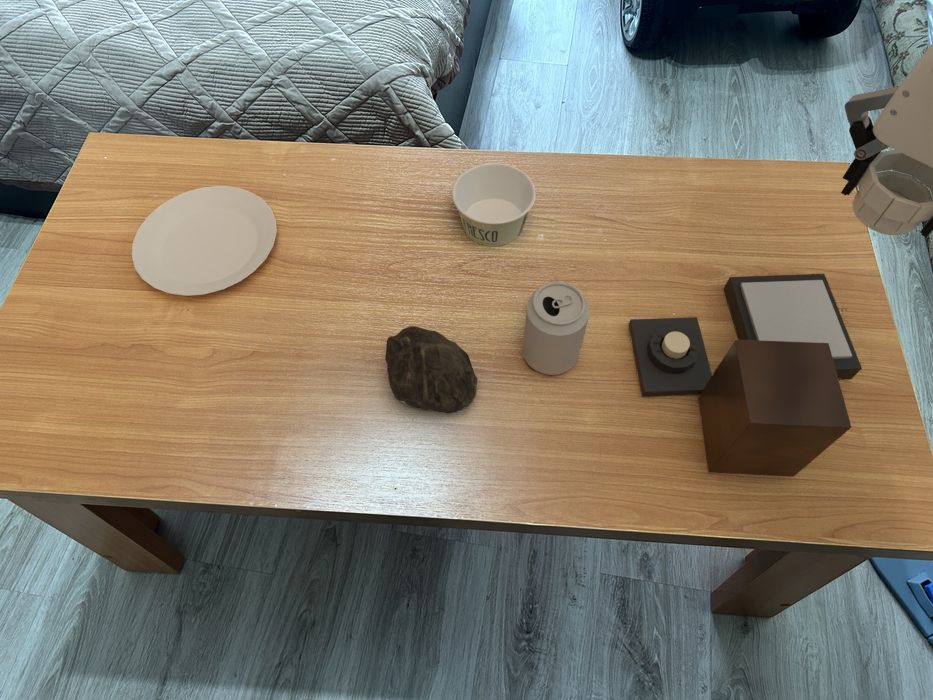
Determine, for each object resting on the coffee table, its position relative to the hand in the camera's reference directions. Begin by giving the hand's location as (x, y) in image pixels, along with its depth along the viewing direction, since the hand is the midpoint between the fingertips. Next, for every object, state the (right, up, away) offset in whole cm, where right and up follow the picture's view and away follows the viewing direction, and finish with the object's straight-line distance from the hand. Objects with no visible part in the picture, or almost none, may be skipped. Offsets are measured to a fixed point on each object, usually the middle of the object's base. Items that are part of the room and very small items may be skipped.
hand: (889, 205), depth 62 cm
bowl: (0, 0, +1) cm, 1 cm away
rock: (-44, -18, +23) cm, 53 cm away
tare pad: (-13, -15, +24) cm, 31 cm away
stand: (-6, -24, +18) cm, 31 cm away
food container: (-36, +5, +37) cm, 52 cm away
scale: (+3, -11, +26) cm, 28 cm away
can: (-29, -14, +25) cm, 41 cm away
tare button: (-13, -13, +22) cm, 29 cm away
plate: (-78, +2, +36) cm, 86 cm away
